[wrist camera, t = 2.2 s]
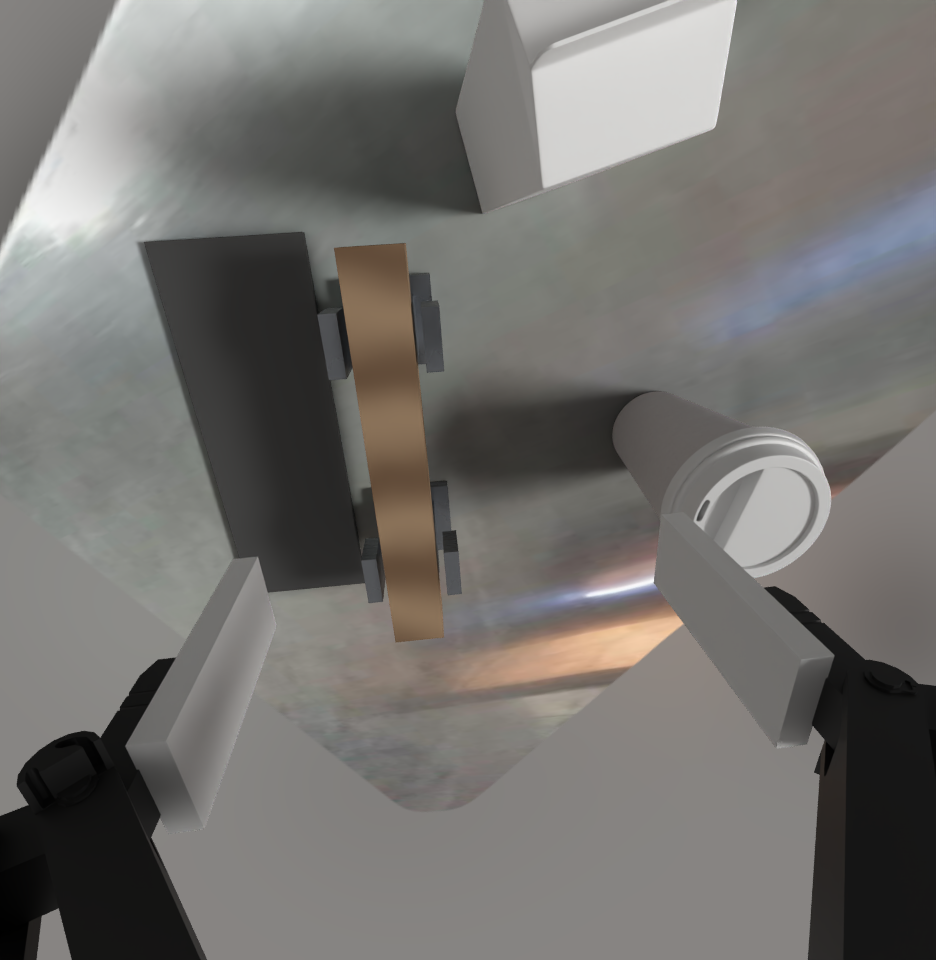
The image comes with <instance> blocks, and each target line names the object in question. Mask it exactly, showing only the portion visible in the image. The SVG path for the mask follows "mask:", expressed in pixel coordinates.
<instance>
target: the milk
mask: <svg viewBox="0 0 936 960" xmlns="http://www.w3.org/2000/svg"><path fill="white" fill-rule="evenodd" d="M736 5H737V0H484V4H483V7H482V11H481V15H480V19H479V23H478V27H477V30H476V34H475V38H474V42H473V46H472V50H471V53H470V57H469V61H468V65H467V69H466V73H465V76H464V80H463V84H462V88H461V92H460V96H459V99H458V103H457V107H456V111H455V112H456V117H457V120H458V124H459V128H460V131H461V135H462V139H463V143H464V146H465V150H466V154H467V158H468V161H469V165H470V169H471V173H472V176H473V180H474V184H475V187H476V191H477V195H478V199H479V202H480V206H481V210H482V213H483V214H485V213H488V212H491V211H494V210H497V209H500V208H502V207H505V206H508V205H511V204H514V203H517V202H519V201H522V200H525V199H528V198H531V197H534V196H536V195H539V194H542V193H545V192H548V191H550V190H553V189H556V188H559V187H562V186H565V185H567V184H570V183H573V182H575V181H578V180H581V179H583V178H586V177H588V176H591V175H594V174H596V173H599V172H602V171H604V170H607V169H610V168H612V167H615V166H618V165H620V164H623V163H626V162H628V161H631V160H633V159H636V158H639V157H641V156H644V155H647V154H649V153H652V152H655V151H657V150H660V149H663V148H665V147H668V146H670V145H673V144H676V143H678V142H681V141H684V140H686V139H689V138H692V137H694V136H697V135H700V134H702V133H705V132H707V131H710V130H712V129H713V128H714V127H715V125H716V122H717V117H718V111H719V105H720V99H721V93H722V87H723V81H724V76H725V70H726V64H727V58H728V52H729V46H730V40H731V34H732V28H733V23H734V17H735V11H736Z"/></svg>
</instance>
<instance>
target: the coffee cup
mask: <svg viewBox="0 0 936 960" xmlns="http://www.w3.org/2000/svg"><path fill="white" fill-rule="evenodd" d="M612 439H613V445H614V447H615V450H616V452H617V453H618V455H619V456H620V458H621V459H622V461H623V463H624V464H625V466H626V467H627V469H628V470H629V472H630V473H631V475H632V476H633V478H634V480H635V481H636V483H637V484H638V486H639V487H640V489H641V490H642V492H643V493H644V495H645V497H646V498H647V500H648V501H649V503H650V504H651V506H652V507H653V509H654V511H655V512H656V514H657V515H658V517H659V519H660V523H661V514H671V513H680V512H684V513H685V514H686V515H687V516H688V517H689V518H690V519H691V520H692V521H694V522H695V523H696V524H697V525H698V526H699V527H700V528H701V529H702V530H703V531H704V532H705V533H706V534H707V535H708V536H709V537H710V538H711V539H713V540H714V541H715V542H716V543H717V544H718V545H719V546H720V547H721V548H722V549H723V550H724V551H725V552H726V553H727V554H728V555H729V556H730V557H731V558H733V559H734V560H735V561H736V562H737V563H738V564H739V565H740V566H741V567H742V568H743V569H744V570H745V571H746V572H747V573H748V574H749V575H750V576H752V577H753V578H757V577H761V576H764V575H767V574H770V573H773V572H775V571H777V570H779V569H782V568H783V567H785V566H787V565H789V564H790V563H792V562H793V561H794V560H796V559H797V558H798V557H800V556H801V555H802V554H803V553H804V552H805V551H806V550H807V549H808V548H809V547H810V546H811V545H812V544H813V543H814V541H815V540H816V539H817V537H818V536H819V534H820V533H821V531H822V529H823V528H824V526H825V523H826V521H827V518H828V515H829V511H830V506H831V492H830V487H829V484H828V481H827V479H826V477H825V474H824V471H823V468H822V466H821V464H820V462H819V460H818V458H817V456H816V455H815V453H814V452H813V451H812V450H811V449H810V447H809V446H808V445H807V444H806V443H805V442H804V441H803V440H802V439H800V438H799V437H797V436H796V435H794V434H792V433H790V432H788V431H785V430H782V429H778V428H773V427H752V426H750V425H747V424H745V423H742V422H740V421H737V420H735V419H732V418H730V417H727V416H725V415H723V414H720V413H718V412H715V411H713V410H710V409H708V408H705V407H703V406H700V405H698V404H696V403H693V402H691V401H688V400H686V399H683V398H681V397H678V396H676V395H674V394H671V393H668V392H662V391H654V392H648V393H645V394H642V395H640V396H638V397H636V398H634V399H633V400H631V401H630V402H629V403H628V404H627V405H626V406H625V407H624V408H623V409H622V410H621V412H620V413H619V415H618V416H617V418H616V420H615V423H614V426H613V432H612Z"/></svg>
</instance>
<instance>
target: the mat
mask: <svg viewBox="0 0 936 960" xmlns="http://www.w3.org/2000/svg"><path fill="white" fill-rule="evenodd" d="M144 244H145V247H146V250H147V254H148V257H149V260H150V264H151V267H152V270H153V274H154V277H155V280H156V283H157V287H158V290H159V293H160V297H161V300H162V303H163V307H164V310H165V313H166V317H167V320H168V323H169V327H170V330H171V333H172V336H173V340H174V343H175V346H176V350H177V353H178V356H179V360H180V363H181V366H182V370H183V373H184V376H185V380H186V383H187V386H188V389H189V393H190V396H191V399H192V403H193V406H194V409H195V413H196V416H197V419H198V423H199V426H200V429H201V433H202V436H203V439H204V442H205V446H206V449H207V452H208V456H209V459H210V462H211V466H212V469H213V472H214V476H215V479H216V482H217V486H218V489H219V492H220V495H221V499H222V502H223V505H224V509H225V512H226V515H227V519H228V522H229V525H230V529H231V532H232V535H233V539H234V542H235V545H236V548H237V552H238V555H239V558H249V557H258V559H259V563H260V566H261V570H262V574H263V577H264V581H265V585H266V588H267V592H278V591H288V590H298V589H309V588H319V587H329V586H340V585H350V584H360V583H365V579H364V573H363V568H362V562H361V559H362V556H361V550H360V545H359V539H358V533H357V528H356V522H355V516H354V511H353V505H352V500H351V494H350V488H349V483H348V477H347V471H346V466H345V460H344V454H343V449H342V443H341V437H340V432H339V426H338V421H337V415H336V409H335V404H334V398H333V392H332V387H331V381H330V380H329V377H328V372H327V366H326V360H325V355H324V349H323V344H322V338H321V332H320V327H319V321H318V316H317V314H319V313H318V308H317V302H316V296H315V291H314V285H313V280H312V274H311V268H310V263H309V257H308V251H307V246H306V240H305V234H304V232H298V233H282V234H266V235H250V236H235V237H219V238H203V239H187V240H171V241H155V242H144Z"/></svg>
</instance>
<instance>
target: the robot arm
mask: <svg viewBox="0 0 936 960" xmlns="http://www.w3.org/2000/svg"><path fill="white" fill-rule="evenodd" d="M654 584H655V585H656V587H657V588H658V589H659V591H660V592H661V593H662V595H663V596H664V597H665V599H666V600H667V601H668V603H669V604H670V606H671V607H672V608H673V610H674V611H675V612H676V614H677V615H678V616H679V618H680V619H681V620H682V622H683V623H684V624H685V626H686V627H687V629H688V630H689V631H690V633H691V634H692V635H693V637H694V638H695V639H696V641H697V642H698V643H699V645H700V646H701V647H702V649H703V650H704V652H705V653H706V654H707V656H708V657H709V658H710V660H711V661H712V662H713V663H714V665H715V666H716V668H717V669H718V671H719V672H720V673H721V675H722V676H723V677H724V679H725V680H726V681H727V683H728V684H729V685H730V687H731V688H732V689H733V691H734V692H735V694H736V695H737V696H738V698H739V699H740V700H741V702H742V703H743V704H744V706H745V707H746V708H747V710H748V711H749V712H750V714H751V715H752V717H753V718H754V719H755V721H756V722H757V723H758V725H759V726H760V727H761V729H762V730H763V731H764V733H765V734H766V736H767V737H768V738H769V740H770V741H771V742H772V744H773V745H774V746H775V748H784V747H790V746H798V745H805V744H807V742H808V739H809V736H810V732H811V729H812V726H814V728H815V729H816V730H817V731H818V732H819V733H820V735H821V736H822V737H823V738H824V739H825V741H824V744H823V747H822V750H821V753H820V756H819V759H818V762H817V765H816V768H815V771H814V773H817V774H819V775H820V780H819V796H818V811H817V827H816V842H815V858H814V873H813V889H812V905H811V920H810V937H809V952H808V960H936V686H932V685H923V684H918V683H917V682H916V681H915V680H913V678H912V677H910V676H909V675H908V674H906V673H904V672H902V671H901V670H899V669H898V668H896V667H893V666H890V665H888V664H885V663H882V662H878V661H873V660H865V659H864V658H863V657H861V656H860V655H859V654H858V653H857V652H856V651H855V650H854V649H853V648H851V647H850V646H849V645H848V644H847V643H846V642H845V641H844V640H843V639H841V638H840V637H839V636H838V635H837V634H836V633H835V632H834V631H832V630H831V629H830V628H829V627H828V626H827V625H826V624H825V623H821V620H820V619H819V618H818V617H817V616H816V615H815V614H813V613H812V612H809V609H808V608H807V607H806V606H804V605H803V604H802V603H801V602H800V601H799V600H798V599H797V598H796V597H794V596H792V595H790V594H789V593H786V592H785V591H783V590H781V589H779V588H777V587H775V586H774V587H766V588H763V587H762V586H761V585H760V584H759V583H758V582H757V581H756V580H755V579H754V578H753V577H752V576H750V575H749V574H748V573H747V572H746V571H745V570H744V569H743V568H742V567H741V566H740V565H739V564H738V563H737V562H736V561H735V560H734V559H733V558H731V557H730V556H729V555H728V554H727V553H726V552H725V551H724V550H723V549H722V548H721V547H720V546H719V545H718V544H717V543H716V542H715V541H714V540H713V539H711V538H710V537H709V536H708V535H707V534H706V533H705V532H704V531H703V530H702V529H701V528H700V527H699V526H698V525H697V524H696V523H695V522H694V521H692V520H691V519H690V518H689V517H688V516H687V515H686V514H685V513H684V512H680V513H671V514H661V523H660V532H659V541H658V550H657V559H656V568H655V577H654ZM276 626H277V625H276V622H275V618H274V614H273V611H272V607H271V603H270V599H269V596H268V592H267V588H266V585H265V581H264V577H263V574H262V570H261V566H260V563H259V559H258V557H249V558H240V559H233V560H232V562H231V563H230V565H229V567H228V569H227V570H226V572H225V574H224V576H223V577H222V579H221V581H220V582H219V584H218V586H217V588H216V589H215V591H214V593H213V595H212V596H211V598H210V600H209V602H208V603H207V605H206V607H205V608H204V610H203V612H202V614H201V615H200V617H199V619H198V621H197V622H196V624H195V626H194V628H193V629H192V631H191V633H190V634H189V636H188V638H187V640H186V641H185V643H184V645H183V647H182V648H181V650H180V652H179V654H178V656H177V657H176V658H168V659H159V660H157V661H156V662H155V663H154V664H153V665H151V666H150V667H149V668H148V669H147V670H146V671H145V672H144V673H142V674H141V675H140V676H139V678H138V680H137V681H136V683H135V684H134V686H133V688H132V689H131V691H130V692H129V696H127V697H126V698H125V700H124V702H123V703H122V705H121V706H120V711H117V713H116V714H115V716H114V717H113V719H112V720H111V722H110V724H109V725H108V727H107V728H106V730H105V731H104V733H103V734H102V736H101V738H100V737H99V736H98V735H97V734H96V733H94V732H88V731H81V732H76V733H71V734H68V735H65V736H63V737H61V738H59V739H57V740H54V741H52V742H51V743H49V744H48V745H46V746H45V747H43V748H42V749H40V750H39V751H38V752H37V753H36V754H35V755H34V756H32V758H30V760H28V761H27V762H26V763H25V765H24V767H23V768H22V770H21V771H20V773H19V774H18V779H17V787H18V789H19V790H20V792H21V794H22V795H23V797H24V798H25V799H26V801H27V803H28V804H29V805H28V806H25V807H22V808H20V809H17V810H15V811H12V812H9V813H7V814H4V815H2V816H0V960H36V958H37V951H38V942H39V934H40V925H41V917H42V915H45V914H47V913H49V912H51V911H53V910H56V909H58V908H59V911H60V915H61V919H62V923H63V927H64V931H65V934H66V938H67V943H68V946H69V950H70V954H71V958H72V960H207V959H206V956H205V954H204V952H203V950H202V948H201V945H200V943H199V941H198V939H197V936H196V934H195V932H194V930H193V928H192V925H191V923H190V921H189V919H188V917H187V915H186V912H185V910H184V908H183V906H182V903H181V901H180V899H179V897H178V895H177V892H176V890H175V888H174V886H173V884H172V881H171V879H170V877H169V875H168V873H167V870H166V868H165V866H164V864H163V862H162V859H161V857H160V855H159V853H158V851H157V848H156V846H155V844H154V842H153V840H152V838H151V836H152V834H153V832H154V830H155V827H156V825H157V823H158V820H159V818H161V821H162V823H163V825H164V827H165V829H166V831H167V833H168V834H172V833H179V832H186V831H193V830H200V829H204V828H205V826H206V823H207V820H208V817H209V814H210V812H211V808H212V806H213V803H214V800H215V798H216V795H217V792H218V789H219V786H220V784H221V781H222V778H223V775H224V772H225V769H226V767H227V764H228V761H229V758H230V755H231V753H232V750H233V747H234V744H235V741H236V738H237V736H238V733H239V730H240V727H241V724H242V722H243V719H244V716H245V713H246V711H247V708H248V705H249V702H250V699H251V697H252V694H253V691H254V688H255V685H256V683H257V680H258V677H259V674H260V671H261V669H262V666H263V663H264V660H265V657H266V654H267V652H268V649H269V646H270V643H271V640H272V638H273V635H274V632H275V629H276Z"/></svg>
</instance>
